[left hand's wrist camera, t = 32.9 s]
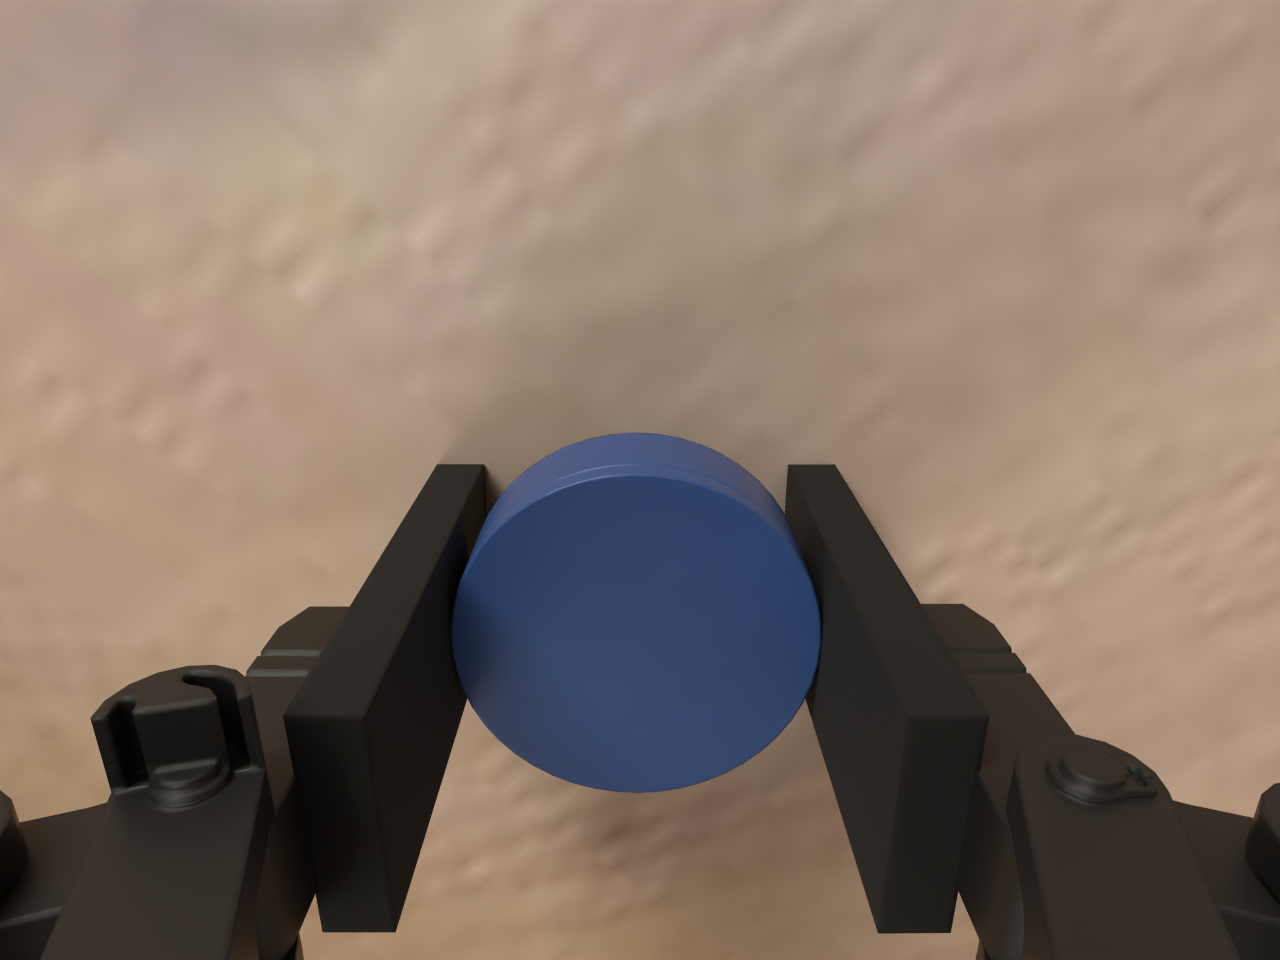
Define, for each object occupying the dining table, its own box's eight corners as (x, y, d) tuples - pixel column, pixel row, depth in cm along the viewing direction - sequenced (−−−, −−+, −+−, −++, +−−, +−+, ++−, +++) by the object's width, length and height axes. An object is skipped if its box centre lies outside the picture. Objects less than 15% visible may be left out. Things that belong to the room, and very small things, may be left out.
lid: (404, 590, 13) (373, 650, 12) (631, 359, 12) (630, 392, 10) (640, 773, 14) (640, 848, 13) (869, 583, 13) (899, 642, 12)
